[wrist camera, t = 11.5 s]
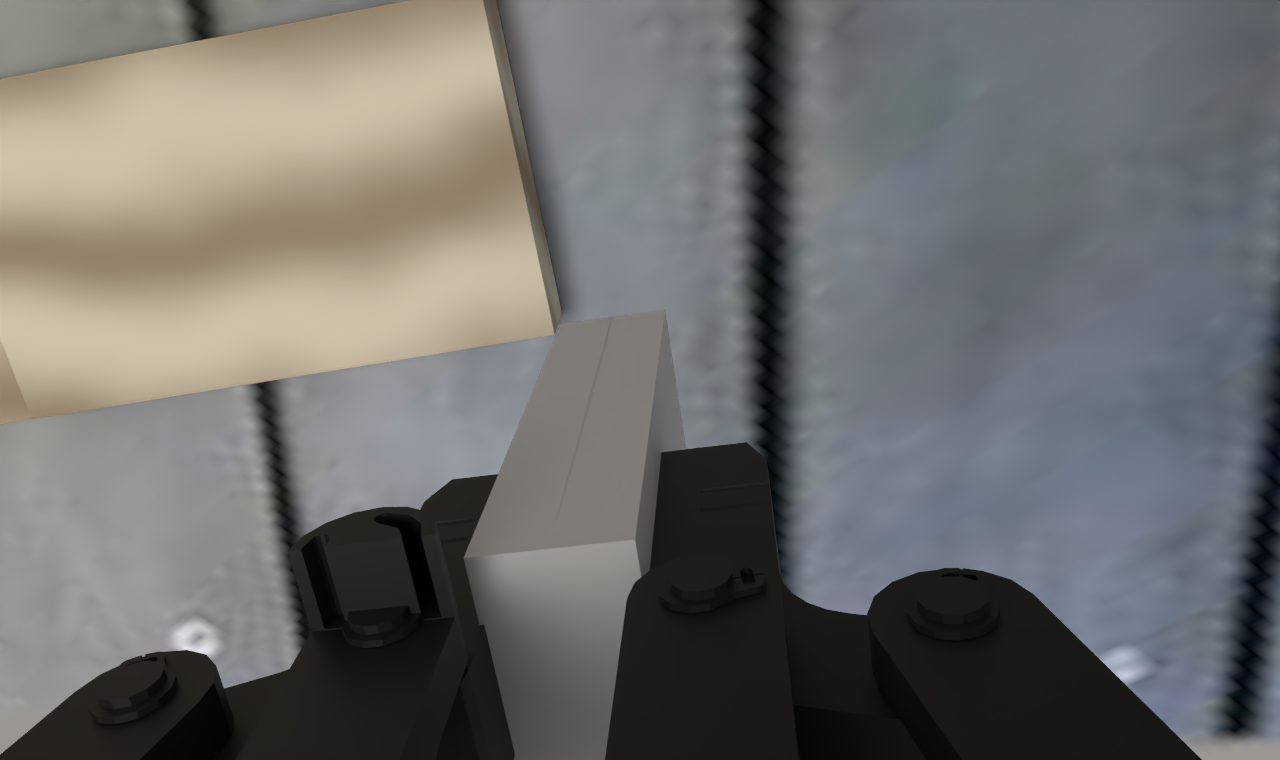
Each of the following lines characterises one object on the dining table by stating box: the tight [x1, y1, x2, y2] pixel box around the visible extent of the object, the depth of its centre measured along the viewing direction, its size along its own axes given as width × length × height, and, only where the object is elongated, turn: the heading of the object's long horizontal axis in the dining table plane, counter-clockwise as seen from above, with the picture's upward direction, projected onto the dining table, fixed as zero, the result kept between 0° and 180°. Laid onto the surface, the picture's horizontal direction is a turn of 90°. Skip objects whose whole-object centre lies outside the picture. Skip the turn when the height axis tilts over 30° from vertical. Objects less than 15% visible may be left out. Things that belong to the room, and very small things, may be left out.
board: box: [0, 0, 562, 424], centre depth 37 cm, size 11×30×2 cm, turn 100°
